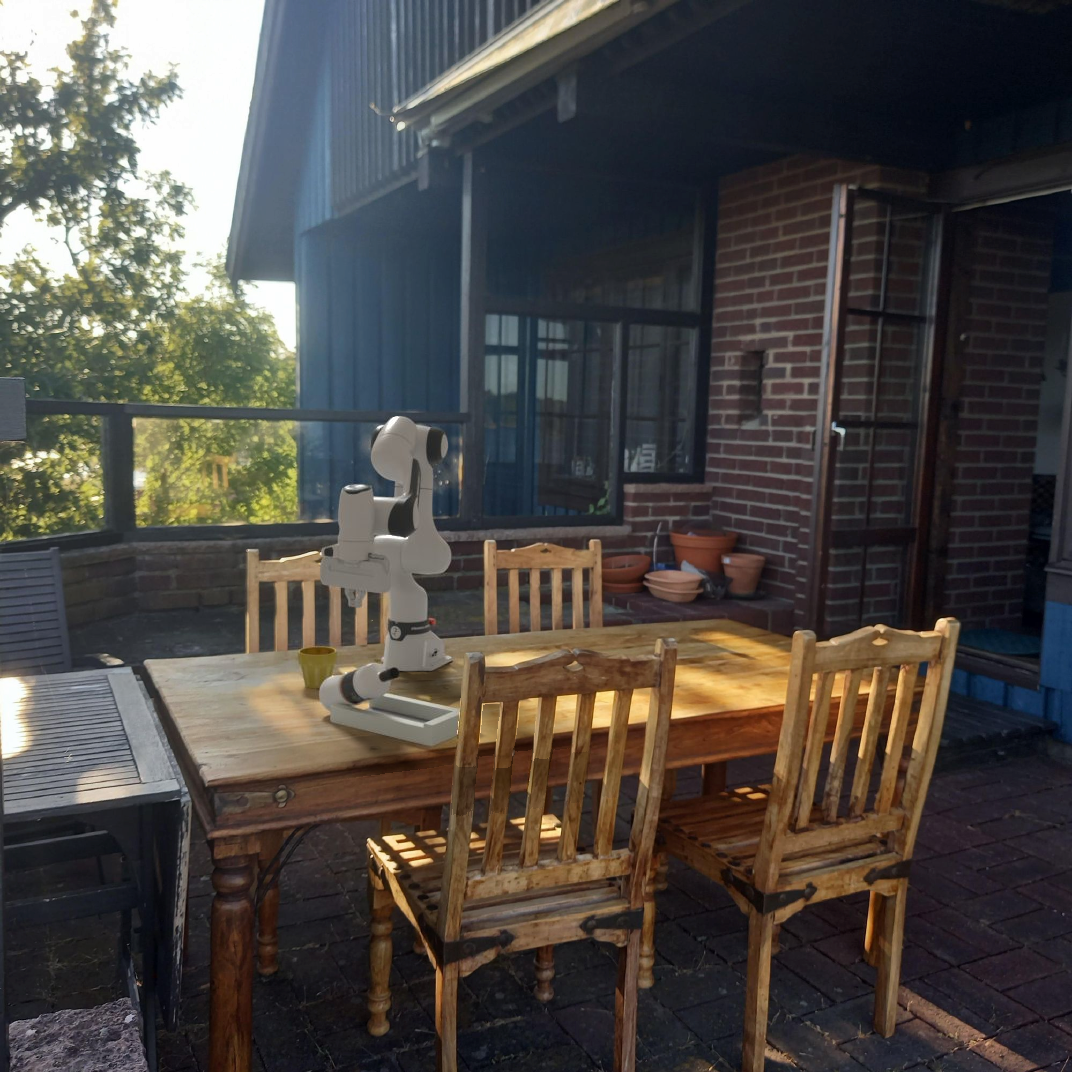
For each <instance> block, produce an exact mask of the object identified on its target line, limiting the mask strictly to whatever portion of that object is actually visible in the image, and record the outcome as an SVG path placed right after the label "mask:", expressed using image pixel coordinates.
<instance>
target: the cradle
mask: <svg viewBox="0 0 1072 1072" xmlns="http://www.w3.org/2000/svg"><path fill="white" fill-rule="evenodd" d="M368 701H369V703H368V705H369V707H368V708H367V707H366V708H365V709H362V708H358V707H354V706H351V707H350V706H346V705H341V704H335V705H332V706H331V712H330V718H329V719H330V721H329V722H330V723H333V724H337V725H341V726H344V727H345V726H346V727H348V728H349V727H350V728H354V729H357V730H360V731H361V730H362V731H366V732H370V733H374V734H377V735H378V734H379V735H383V736H387V737H390V738H395V739H398V740H403V741H406V742H410V743H415V744H420V745H423V746H427V747H435V746H437V745H439V744H441V743H444V742H446V741H448V740H451V739H453V738H455V737H458V736H457V730H458V721H459V712H460V709H461V708H457V707H452V706H446V705H444V704H443V705H442V704H438V703H433V702H429V701H424V700H419V699H415V698H411V697H405V696H402V695H396V694H392V693H389V692H388V693H387V692H386V694H384V695H383V696H382V697H379V698H374V699H371V700H368Z"/></svg>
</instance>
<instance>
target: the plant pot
mask: <svg viewBox="0 0 1072 1072" xmlns="http://www.w3.org/2000/svg"><path fill="white" fill-rule="evenodd" d="M297 660H298V661H297V663H298V664H299V665H300V668H301V672H302V676H303V682H304V686H305V687H306V688H309V689H320V687H321V684H322V683H323V682H324V680H326V679H327V678H329V677H331V676H333V673H334V672H333V671H334V667H335V664H336V663H337V661H338V650H337V649H336V648H335V647H332V646H322V645H321V646H319V645H318V646H317V645H316V646H306V647H303V648H300V649H298V651H297Z"/></svg>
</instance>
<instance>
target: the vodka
mask: <svg viewBox="0 0 1072 1072" xmlns="http://www.w3.org/2000/svg"><path fill="white" fill-rule="evenodd" d="M399 676H400V671H399V670H398V669H397V668H395V667H393V668H390V669H388V668H385V667H384V666H383V664H380V663H377V662H369V663H367V664H365V665H362V666H360V667H358V668H357V669H354V670H351V671H346V672H344V673H343V674H339V675H338V674H337V675H332V676H331V677H329V678H327V679H326V680H324V682H323V683H322V684H321V687H320V688H319V690H318V697H319V698H318V699H319V701H320V703H321V705H322V706H323V707H324V709H325V710H327V711H329V712H330V713H331V706H332V705H335V704H341V705H346V706H350V707H354V706H358V705H361V704H362V703H364V702H368V701H369V700H371V699H374V698H379V697H382V696H383V695H384V694H386V693H387V692H388V691H389V690H390V687H391V682H392V681H393V680H395V679H398V678H399Z"/></svg>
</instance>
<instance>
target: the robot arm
mask: <svg viewBox="0 0 1072 1072" xmlns="http://www.w3.org/2000/svg"><path fill="white" fill-rule="evenodd" d="M369 442H370V451H371V453H370V460H371V465H372V467H373V468H374V470H375V471H376V472H377V473H378V474H379V475H380V476H381V477H382V478H384V479H385V480H389V481H394V482H395V483H394V493H393V494H394V495H393V497H391V496H388V497H386V496H376V495H375V496H374V491H373V488H372V487H371V485H368V484H362V483H354V484H349V485H345V486H344V487H343V488H342V489H341V492H340V495H339V502H338V513H337V523H338V526H339V533H338V536H337V543H335V544H332V545H329V546H325V547H321V549H320V550H321V552H320V553H321V556H322V558H321V559H320V560H321V561H320V568H319V579H320V582H321V583H322V585H324V586H330V587H335V588H342V589H343V588H344V594H345V596H346V599H347V600H348V601H347V602H348V604H347V605H348V607H351V608H357V609H359V608H362V607H363V600H364V599H365V596H366V595H367V593H368V592H370V593H376V594H387V593H388V602H389V603H388V604H389V608H388V609H389V611H388V612H389V615H388V616H389V617H388V618H387V624H386V626H387V631H388V633H387V635H386V636H385V643H384V651H383V656H382V657H381V658H380V659H381V661H380V662H381V663H382V666H384V667H385V668H386V669H387V670H388V669H390V668H393V667H395V668H397V669H398V670H399V672H400V671H401V672H418V671H420V672H421V671H422V672H424V671H425V672H427V671H428V672H432V671H435V670H437V669H439V668H440V667H443V666H444V665H446V664H448V663H450V662H452V661H453V657H452V656H450V655H448V654H445V644H444V642H443V641H444V640H442V639H441V638H440V637H439V636H437V634H435V633H434V632H433V631H432V630H431V626H435V625H436V623H437V620H436V618H431V617H429V618H428V594H427V592H426V589H424V588H423V587H422V586H420V585H419V584H418V583H417V582H416V580H415V579H414V576H413V574H418V575H426V576H427V575H437V574H443V573H444V572H446V570H448V568H449V566H450V564H451V561H452V551H451V547H450V545H449V544H448V542H447V541H445V540H444V538H442V536H441V535H440V534H439V532H438V530H437V528H436V525H435V521H434V517H433V491H434V490H433V489H434V470H433V469H434V468H435V467H436V466H437V465H438V464H439V465H440V464H441V462H442V461H443V460H444V459H445V458H446V456H447V453H448V449H449V443H448V442H449V441H448V437H447V434H446V432H445V431H444V429H442V428H440V427H437V426H431V427H430V426H426V425H420V424H415V422H414V421H413V420H412V419H410V418H409V417H406V416H403V415H402V416H401V415H399V416H397V415H396V416H394V417H391V418H390V419H389V420H388V421H387V422H386V423H385V424H381V425H378V426H376V427H375V428H374V430H372V433H371V438H370V441H369ZM354 593H356V597H355V594H354Z"/></svg>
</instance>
